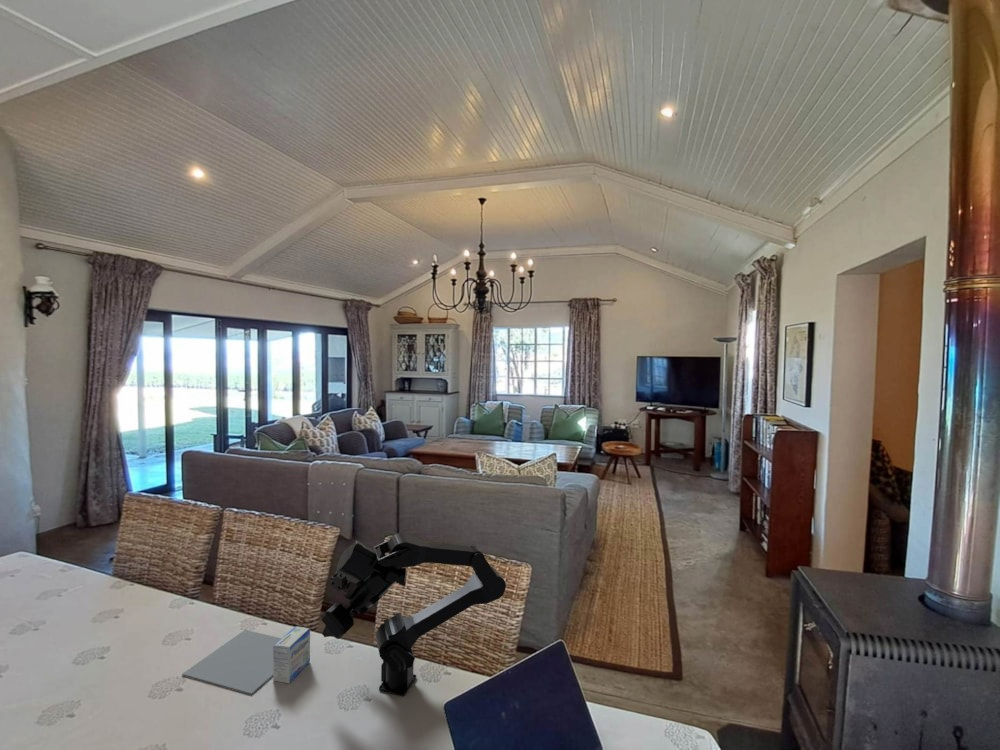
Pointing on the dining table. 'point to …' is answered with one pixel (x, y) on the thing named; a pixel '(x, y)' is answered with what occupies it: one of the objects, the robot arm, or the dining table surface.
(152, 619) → the dining table surface
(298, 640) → the medicine box
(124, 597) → the dining table surface
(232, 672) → the mat
